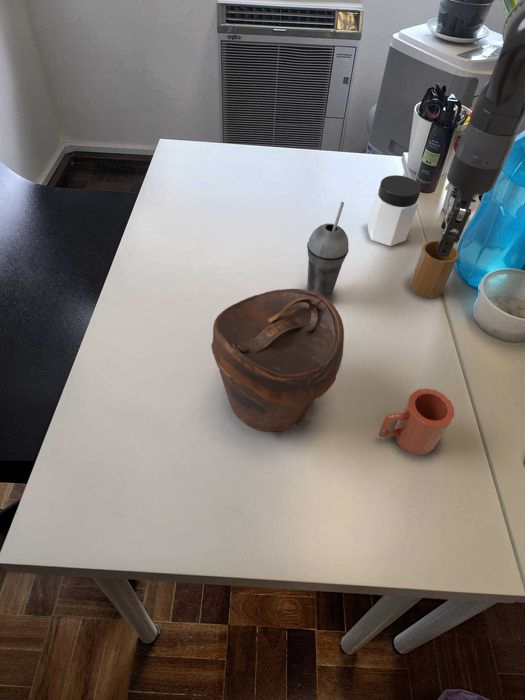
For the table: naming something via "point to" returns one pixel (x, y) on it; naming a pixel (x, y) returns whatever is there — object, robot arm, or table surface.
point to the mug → (420, 421)
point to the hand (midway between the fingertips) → (444, 241)
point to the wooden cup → (432, 271)
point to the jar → (393, 210)
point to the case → (277, 355)
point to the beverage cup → (326, 256)
